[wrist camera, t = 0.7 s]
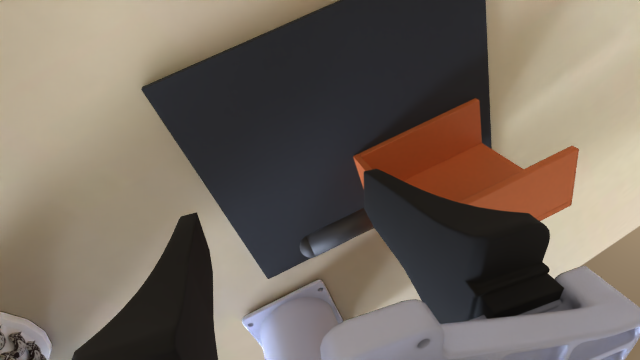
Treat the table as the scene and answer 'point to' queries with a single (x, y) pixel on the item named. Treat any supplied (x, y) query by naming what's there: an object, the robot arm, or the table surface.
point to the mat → (319, 110)
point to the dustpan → (457, 174)
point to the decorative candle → (22, 339)
